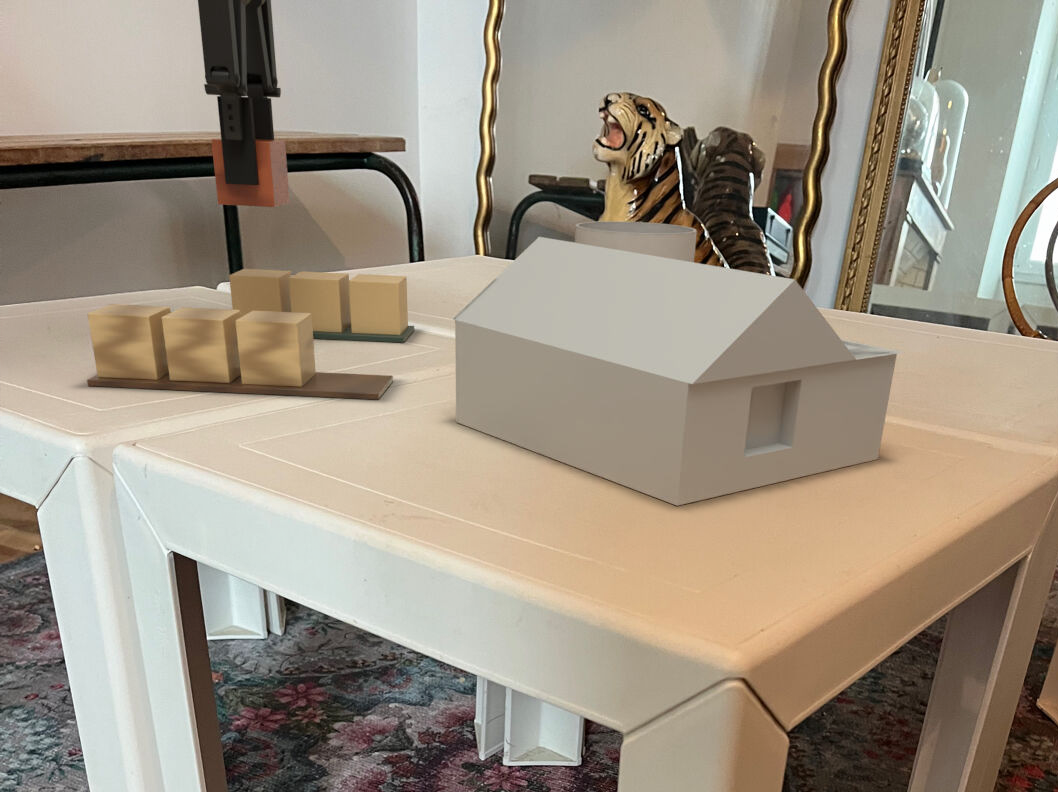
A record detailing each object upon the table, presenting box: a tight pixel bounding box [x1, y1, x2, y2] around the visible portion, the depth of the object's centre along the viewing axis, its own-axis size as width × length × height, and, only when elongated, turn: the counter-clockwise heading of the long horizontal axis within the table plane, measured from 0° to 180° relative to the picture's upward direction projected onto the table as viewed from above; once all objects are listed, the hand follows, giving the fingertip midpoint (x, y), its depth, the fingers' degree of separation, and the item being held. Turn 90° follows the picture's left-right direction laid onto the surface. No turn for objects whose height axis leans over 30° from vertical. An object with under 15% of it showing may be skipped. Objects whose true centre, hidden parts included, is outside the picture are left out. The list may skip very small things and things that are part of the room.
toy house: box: [452, 236, 905, 507], centre depth 81 cm, size 25×21×13 cm
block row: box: [228, 268, 415, 344], centre depth 115 cm, size 24×7×6 cm, turn 88°
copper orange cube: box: [211, 138, 291, 208], centre depth 98 cm, size 5×5×5 cm
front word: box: [86, 303, 394, 400], centre depth 94 cm, size 24×7×6 cm, turn 88°
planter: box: [574, 220, 698, 263], centre depth 121 cm, size 13×13×10 cm
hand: (252, 181), depth 99 cm, fingers closed on copper orange cube, 5 cm apart
